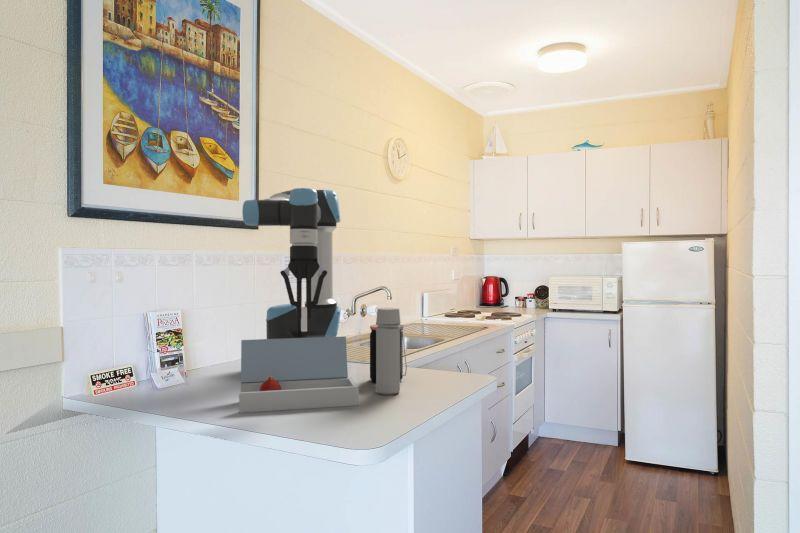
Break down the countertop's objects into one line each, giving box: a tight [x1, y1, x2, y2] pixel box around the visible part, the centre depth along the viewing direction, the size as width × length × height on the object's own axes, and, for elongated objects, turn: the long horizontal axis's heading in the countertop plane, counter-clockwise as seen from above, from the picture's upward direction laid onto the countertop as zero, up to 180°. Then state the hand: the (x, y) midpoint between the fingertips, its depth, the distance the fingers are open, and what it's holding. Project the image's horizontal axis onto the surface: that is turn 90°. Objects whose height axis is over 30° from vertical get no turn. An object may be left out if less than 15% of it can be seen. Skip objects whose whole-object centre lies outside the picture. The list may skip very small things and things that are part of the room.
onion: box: [260, 376, 282, 391], centre depth 151 cm, size 6×6×8 cm
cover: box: [240, 336, 349, 384], centre depth 161 cm, size 1×30×13 cm, turn 104°
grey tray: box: [238, 377, 360, 414], centre depth 153 cm, size 12×31×5 cm, turn 104°
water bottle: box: [375, 307, 408, 396], centre depth 165 cm, size 9×8×25 cm
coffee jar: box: [369, 324, 404, 384], centre depth 181 cm, size 11×11×18 cm
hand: (303, 330), depth 153 cm, fingers closed
